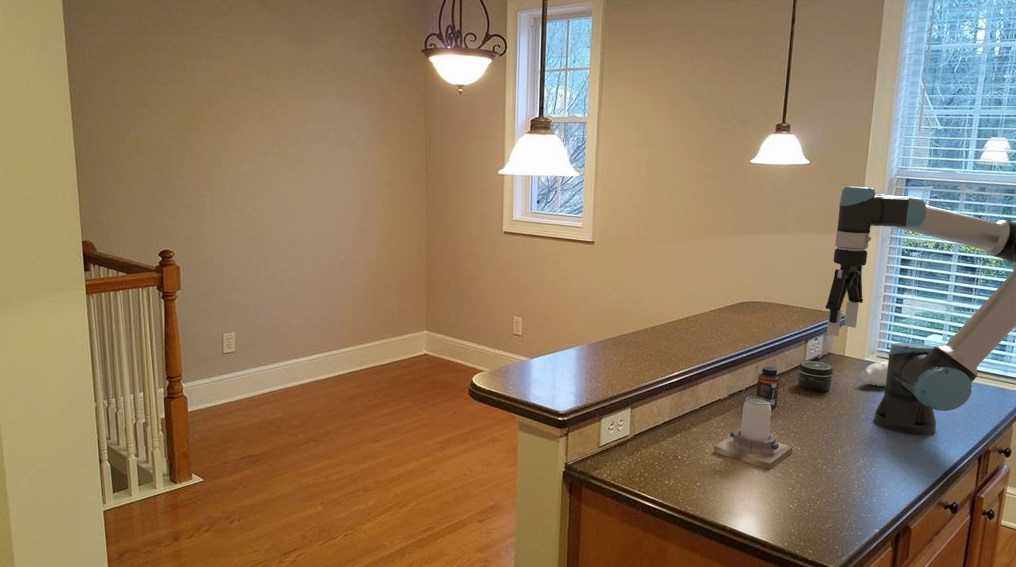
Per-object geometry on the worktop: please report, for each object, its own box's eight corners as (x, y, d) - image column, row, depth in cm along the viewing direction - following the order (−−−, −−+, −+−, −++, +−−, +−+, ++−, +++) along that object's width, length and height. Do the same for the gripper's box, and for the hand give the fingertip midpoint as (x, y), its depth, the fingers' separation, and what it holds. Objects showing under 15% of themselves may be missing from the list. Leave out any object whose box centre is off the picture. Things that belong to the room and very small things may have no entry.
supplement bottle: (778, 409, 214) (782, 372, 212) (756, 407, 215) (760, 370, 213) (775, 402, 220) (778, 366, 218) (754, 400, 221) (757, 364, 219)
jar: (831, 386, 238) (833, 363, 237) (830, 395, 229) (832, 371, 228) (797, 381, 242) (800, 358, 241) (795, 389, 233) (798, 366, 232)
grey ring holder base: (791, 452, 183) (793, 435, 182) (769, 469, 173) (771, 451, 172) (738, 436, 192) (739, 420, 191) (713, 452, 182) (715, 434, 181)
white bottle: (852, 384, 242) (855, 360, 240) (895, 379, 248) (898, 356, 247) (871, 391, 234) (874, 367, 233) (915, 386, 241) (919, 363, 239)
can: (746, 452, 178) (750, 404, 176) (735, 441, 185) (739, 395, 183) (771, 451, 179) (776, 404, 177) (760, 441, 185) (765, 395, 183)
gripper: (851, 254, 174) (840, 341, 177) (881, 246, 192) (871, 325, 196) (818, 250, 179) (809, 335, 182) (851, 243, 197) (842, 320, 201)
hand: (841, 330), depth 189 cm, fingers open, 13 cm apart
